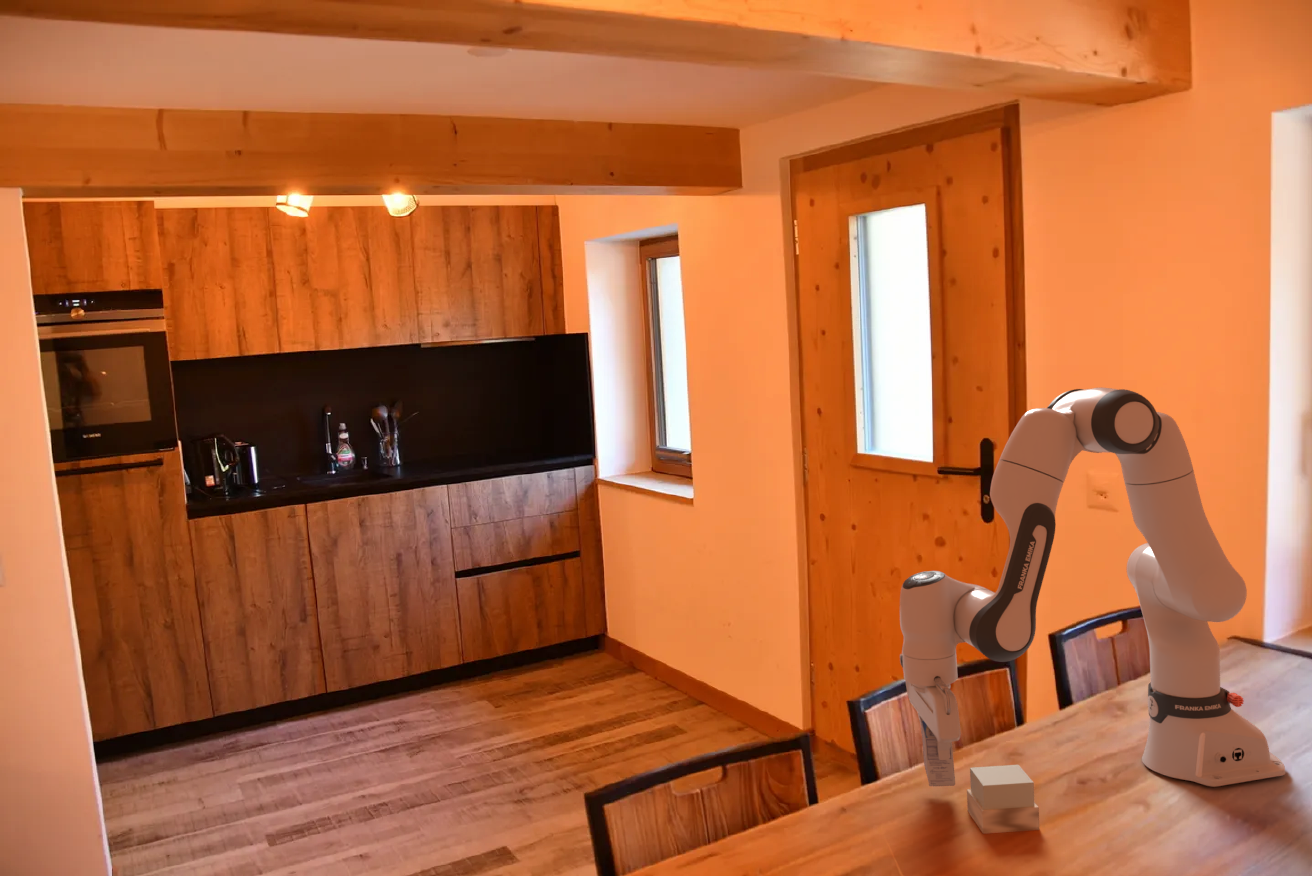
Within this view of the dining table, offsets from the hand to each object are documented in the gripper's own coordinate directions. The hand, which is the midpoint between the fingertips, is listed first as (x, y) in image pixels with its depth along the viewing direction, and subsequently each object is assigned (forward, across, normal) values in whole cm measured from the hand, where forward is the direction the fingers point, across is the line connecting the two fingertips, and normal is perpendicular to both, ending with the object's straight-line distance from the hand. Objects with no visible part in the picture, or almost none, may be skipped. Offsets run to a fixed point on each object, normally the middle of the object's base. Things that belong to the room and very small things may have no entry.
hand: (935, 747), depth 179 cm
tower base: (+10, -9, -8) cm, 15 cm away
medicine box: (+6, 0, 0) cm, 6 cm away
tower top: (+6, -9, -8) cm, 13 cm away
